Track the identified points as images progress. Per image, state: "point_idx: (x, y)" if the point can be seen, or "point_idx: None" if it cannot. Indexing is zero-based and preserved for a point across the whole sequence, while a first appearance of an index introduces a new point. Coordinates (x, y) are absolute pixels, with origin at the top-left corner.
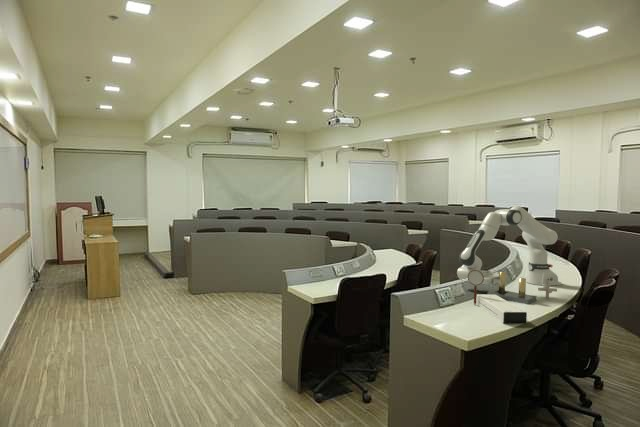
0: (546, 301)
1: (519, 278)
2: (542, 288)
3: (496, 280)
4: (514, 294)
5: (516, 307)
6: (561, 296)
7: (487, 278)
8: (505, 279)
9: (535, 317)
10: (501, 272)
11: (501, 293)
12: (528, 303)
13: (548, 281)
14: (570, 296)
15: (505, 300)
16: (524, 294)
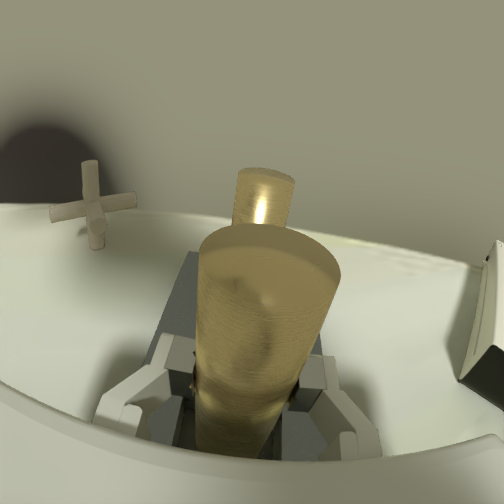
0: (175, 245)
1: (288, 186)
2: (101, 210)
3: (353, 416)
4: None
5: (501, 254)
6: None
7: (501, 454)
8: (176, 336)
9: (431, 257)
10: (302, 266)
11: (286, 426)
12: None
13: (86, 161)
14: (45, 204)
15: (500, 286)
16: None
